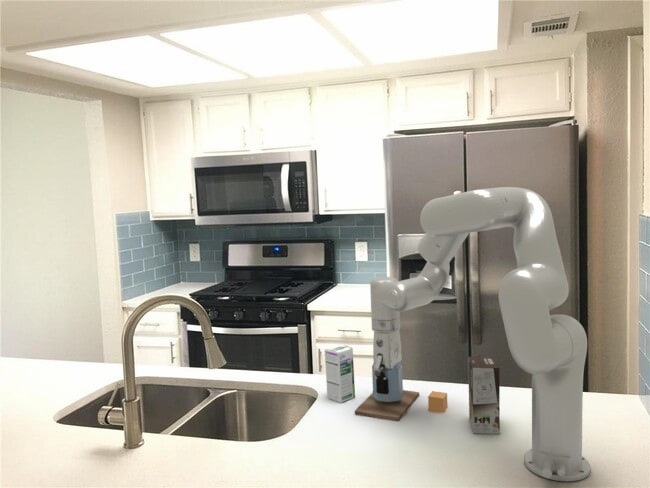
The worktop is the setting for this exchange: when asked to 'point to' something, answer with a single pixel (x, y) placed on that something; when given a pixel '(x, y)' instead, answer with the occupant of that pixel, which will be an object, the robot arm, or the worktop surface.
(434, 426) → the worktop surface
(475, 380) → the coffee box
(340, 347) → the syrup box
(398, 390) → the cup
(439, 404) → the block
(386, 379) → the robot arm
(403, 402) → the board
